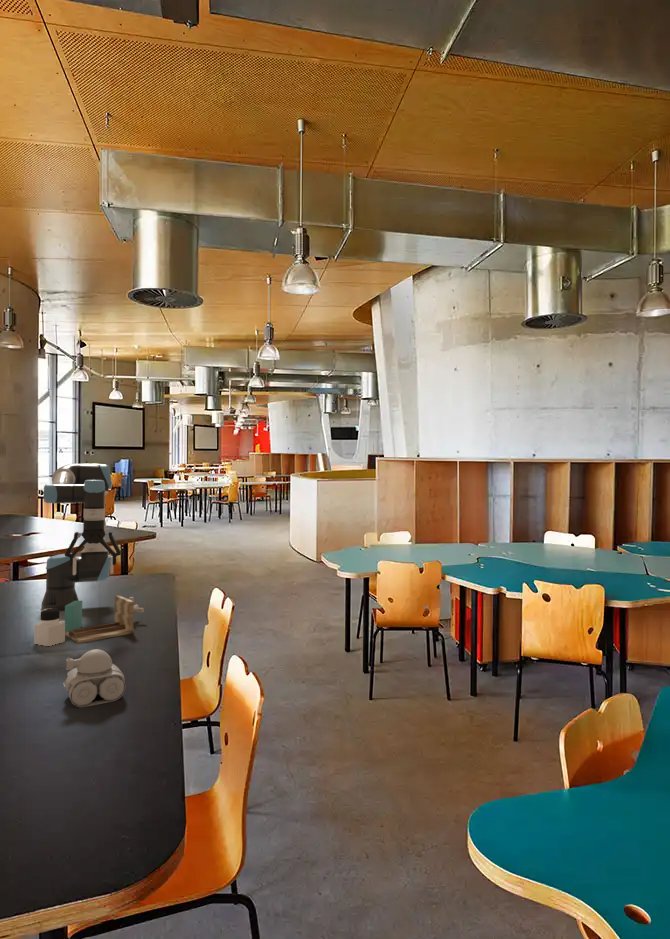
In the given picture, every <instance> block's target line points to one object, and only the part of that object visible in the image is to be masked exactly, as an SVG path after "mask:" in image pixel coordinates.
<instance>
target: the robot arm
mask: <svg viewBox="0 0 670 939" xmlns="http://www.w3.org/2000/svg"><path fill="white" fill-rule="evenodd" d="M51 482H52V483H48V484H44V485H43V502H44V503H46V504H53V505H54V504H83V519H84V520H83V522H82V523H83V525H82V527H83V528H82V532H79V531H75V532H74V534H73V538H72V540H71V543H70V544H69V546H68V548H67V549H66V551H65V553H61V554H56V555H53V556H50V557H48V558H47V560H46V565H45V566H46V567H45V570H46V571H45V573H46V574H45V575H46V577H45V579H46V580H45V584H46V585H45V593H44V596H43V598H42V601H41V608H40V609H41V610H44V609H49V608H56V609H59V610H60V611H65V606H66V605H68V604H70V603H71V602H73V601H80V600H79V597H78V594H77V591H76V583H89V582H90V583H93V582H94V583H95V582H96V583H97V582H103V581H106V580H108V579H109V575H113V574H114V566H116V565H117V558H118V556H120V555H122V551H121V549H120V547H119V545H118V543H117V541H116V539H115V538H114V532H113V531H111V530H110V531H107V532H106V528H105V527H106V496H107V495H108V494H109V490H111V489H112V487H113V486H112V484H113V483H112V474H111V469H110V466H109V465H108V464H104V463H70V464H66V465H63V466H61V467H59V468H57V469H56V470H55V471H54V472H53V474H52V476H51ZM81 537H82V538H83V539H84V540H83V541H82V542H81V543H80V544H79V545H78V546H77V547H76V548H75V549H74V546H75V545H76V543H77V542H78V540H79V538H81ZM106 537H107V538H109V541H110V543H111V544H112V547H113V548H114V549H113V548H112V547H111V546H110V545H109V544H108V543H107V542H106V539H105V538H106ZM83 547H84V548H83ZM73 549H74V551H73V552H72V550H73ZM81 549H82V550H81ZM79 552H80V555H79V556H76V555H77V554H78V553H79Z"/></svg>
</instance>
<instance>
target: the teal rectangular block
mask: <svg viewBox="0 0 670 939" xmlns="http://www.w3.org/2000/svg"><path fill="white" fill-rule="evenodd" d="M64 622H65V632H69V630H74V629H80V628H83V600H79V601H73V602H71V603H70V604H68V605H66V606H65V610H64Z"/></svg>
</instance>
